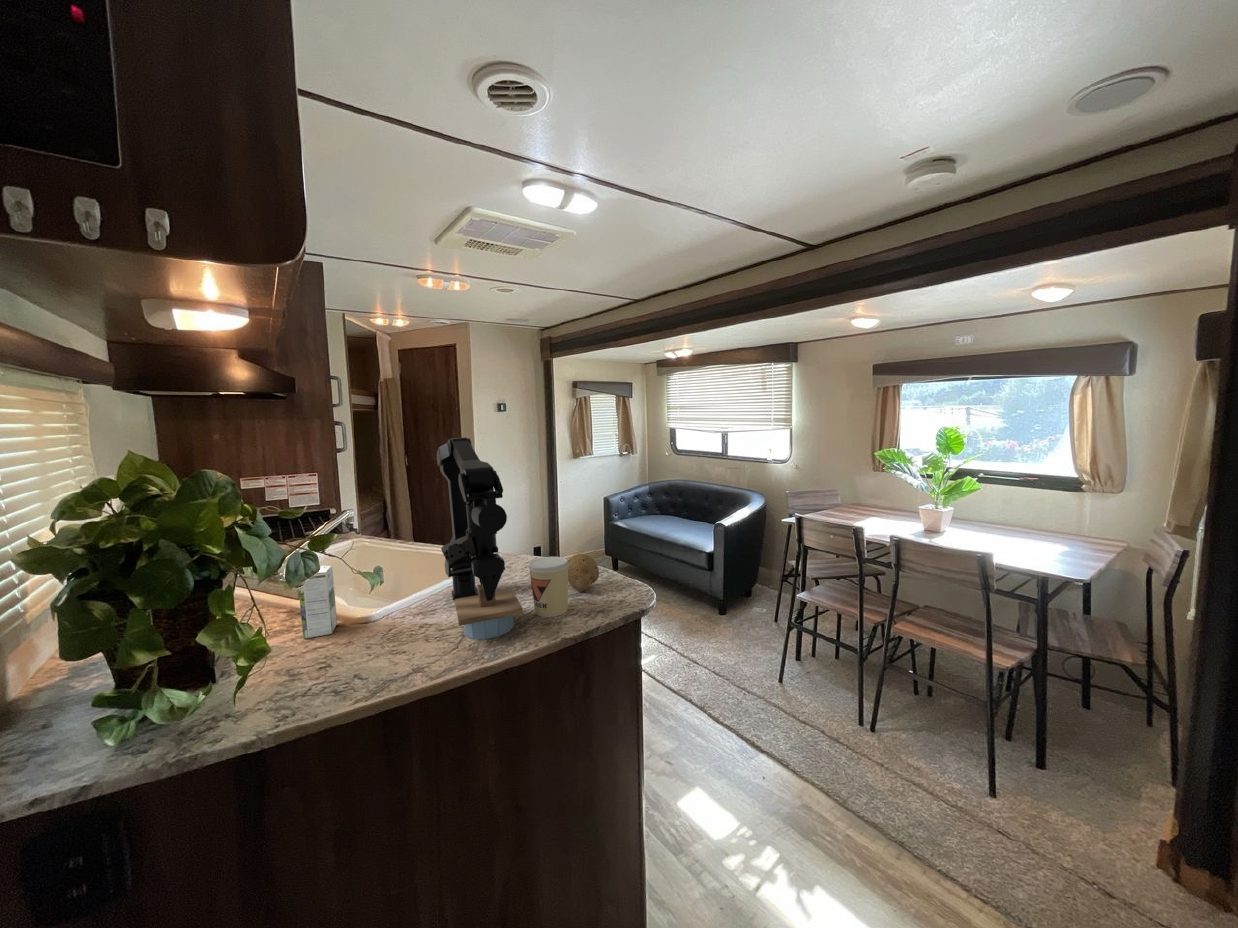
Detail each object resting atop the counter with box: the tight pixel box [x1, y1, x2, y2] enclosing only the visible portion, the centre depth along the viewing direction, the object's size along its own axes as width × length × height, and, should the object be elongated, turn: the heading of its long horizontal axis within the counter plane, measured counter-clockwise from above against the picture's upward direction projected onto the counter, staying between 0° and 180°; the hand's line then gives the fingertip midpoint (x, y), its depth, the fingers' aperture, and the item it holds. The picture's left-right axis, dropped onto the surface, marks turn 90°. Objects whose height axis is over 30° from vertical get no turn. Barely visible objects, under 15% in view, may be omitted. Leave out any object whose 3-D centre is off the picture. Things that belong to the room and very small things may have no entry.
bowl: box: [463, 615, 515, 640], centre depth 106 cm, size 10×10×4 cm
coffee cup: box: [528, 556, 569, 618], centre depth 114 cm, size 9×9×12 cm
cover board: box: [454, 584, 524, 627], centre depth 106 cm, size 13×13×5 cm
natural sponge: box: [567, 553, 600, 593], centre depth 127 cm, size 9×9×10 cm
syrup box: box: [298, 565, 338, 639], centre depth 108 cm, size 6×6×14 cm
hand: (486, 593), depth 106 cm, fingers open, 9 cm apart
